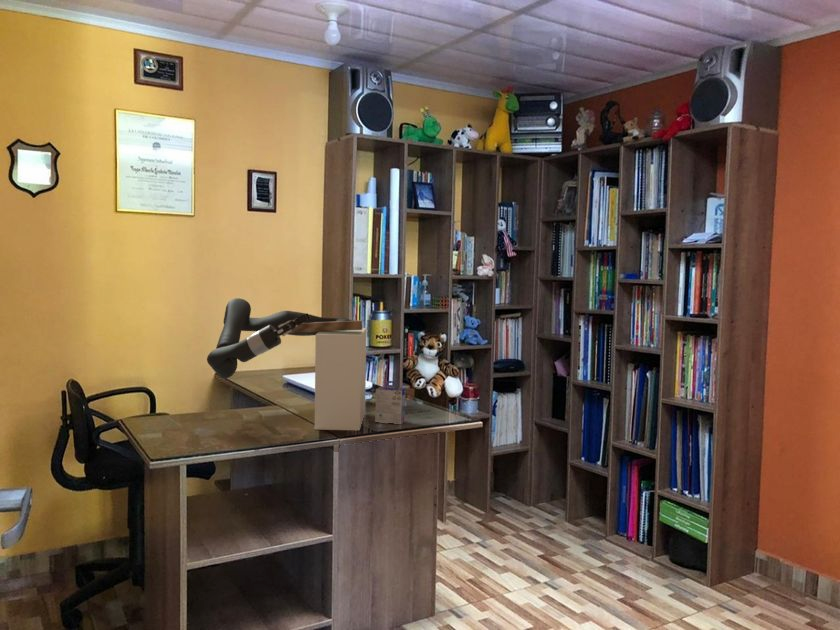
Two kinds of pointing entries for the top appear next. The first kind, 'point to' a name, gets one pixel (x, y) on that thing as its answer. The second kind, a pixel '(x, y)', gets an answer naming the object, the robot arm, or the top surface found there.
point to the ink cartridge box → (390, 404)
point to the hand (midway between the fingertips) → (307, 316)
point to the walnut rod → (328, 326)
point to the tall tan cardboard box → (340, 379)
